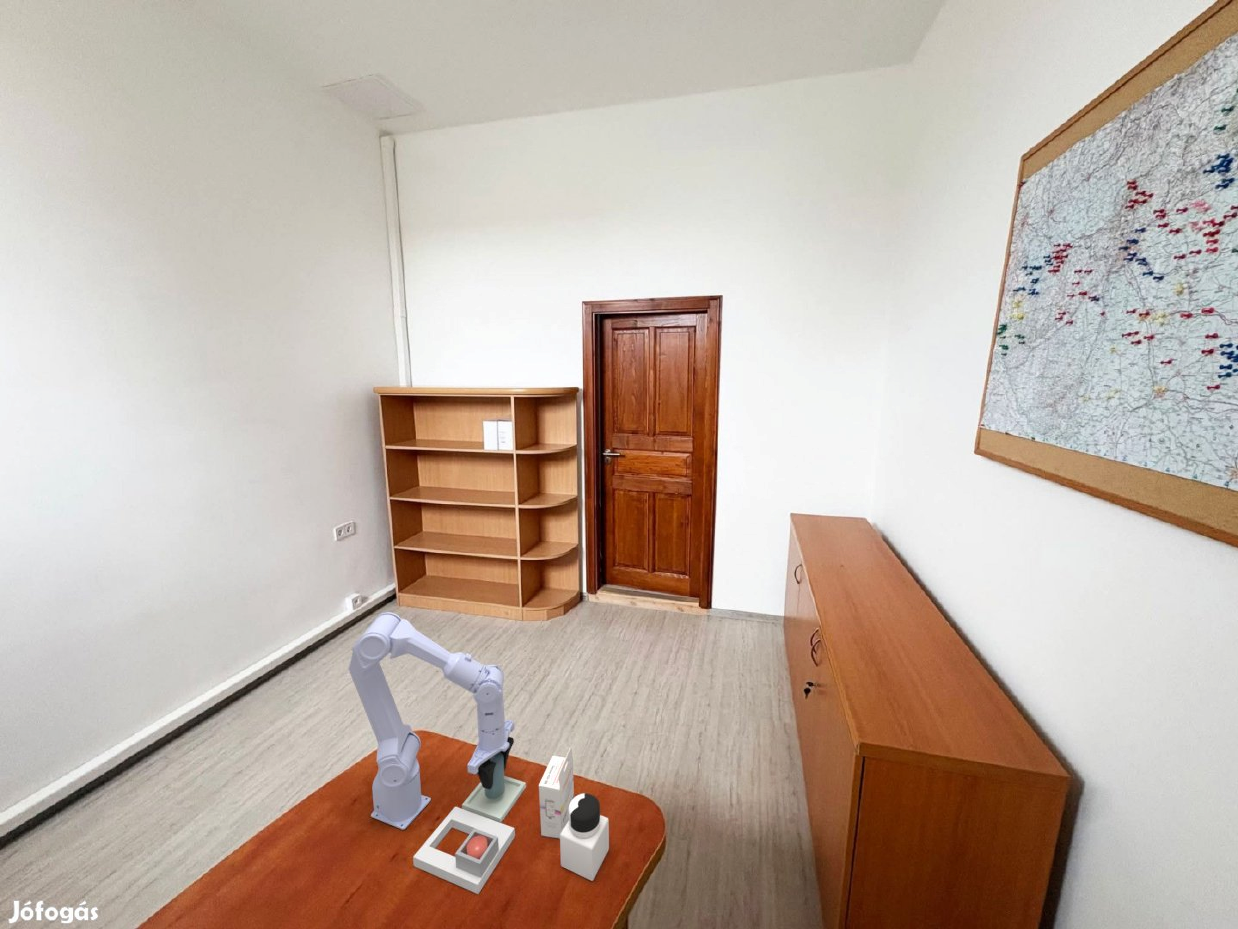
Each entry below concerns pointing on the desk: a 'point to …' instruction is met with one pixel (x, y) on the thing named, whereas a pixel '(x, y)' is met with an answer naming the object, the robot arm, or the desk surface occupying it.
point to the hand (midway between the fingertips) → (494, 778)
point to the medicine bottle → (584, 837)
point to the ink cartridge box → (556, 795)
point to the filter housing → (465, 850)
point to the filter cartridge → (497, 778)
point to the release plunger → (477, 847)
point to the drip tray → (494, 800)
